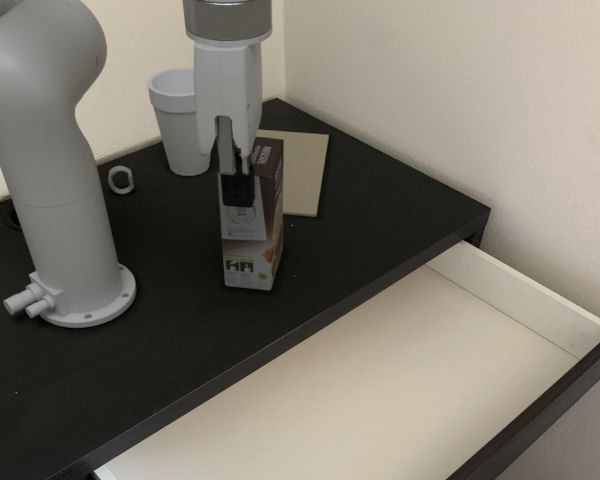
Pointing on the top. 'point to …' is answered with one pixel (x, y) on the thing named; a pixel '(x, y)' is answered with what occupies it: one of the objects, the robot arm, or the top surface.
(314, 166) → the mat
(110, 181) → the grey ring
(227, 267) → the coffee box
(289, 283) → the top surface
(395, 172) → the top surface
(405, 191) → the top surface
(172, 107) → the foam cup
